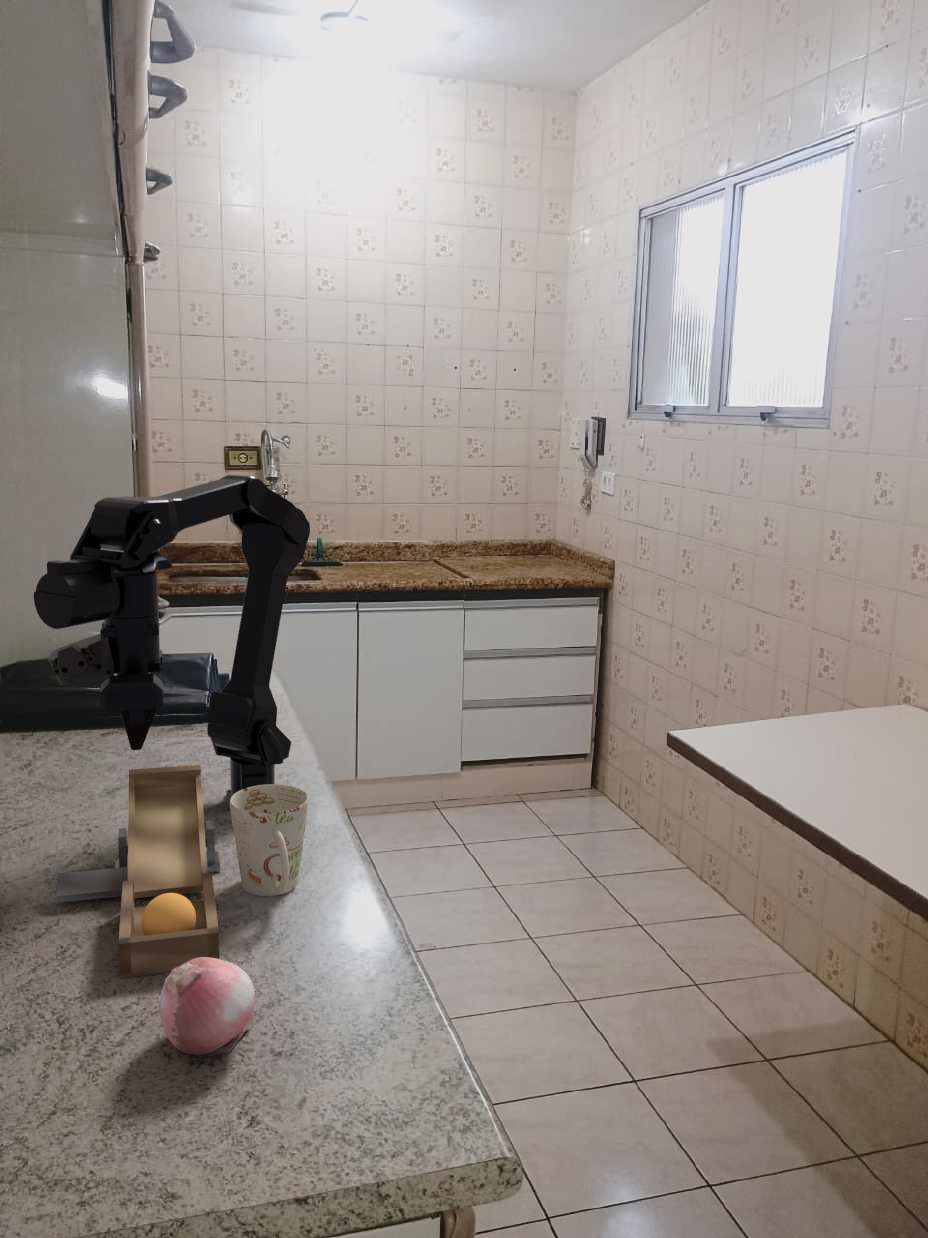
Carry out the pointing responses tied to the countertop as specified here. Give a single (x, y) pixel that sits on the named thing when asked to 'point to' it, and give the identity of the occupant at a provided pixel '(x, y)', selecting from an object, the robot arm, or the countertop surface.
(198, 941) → the tray
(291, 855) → the mug
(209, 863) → the stand
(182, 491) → the robot arm
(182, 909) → the ball
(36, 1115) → the countertop surface
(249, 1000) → the onion
